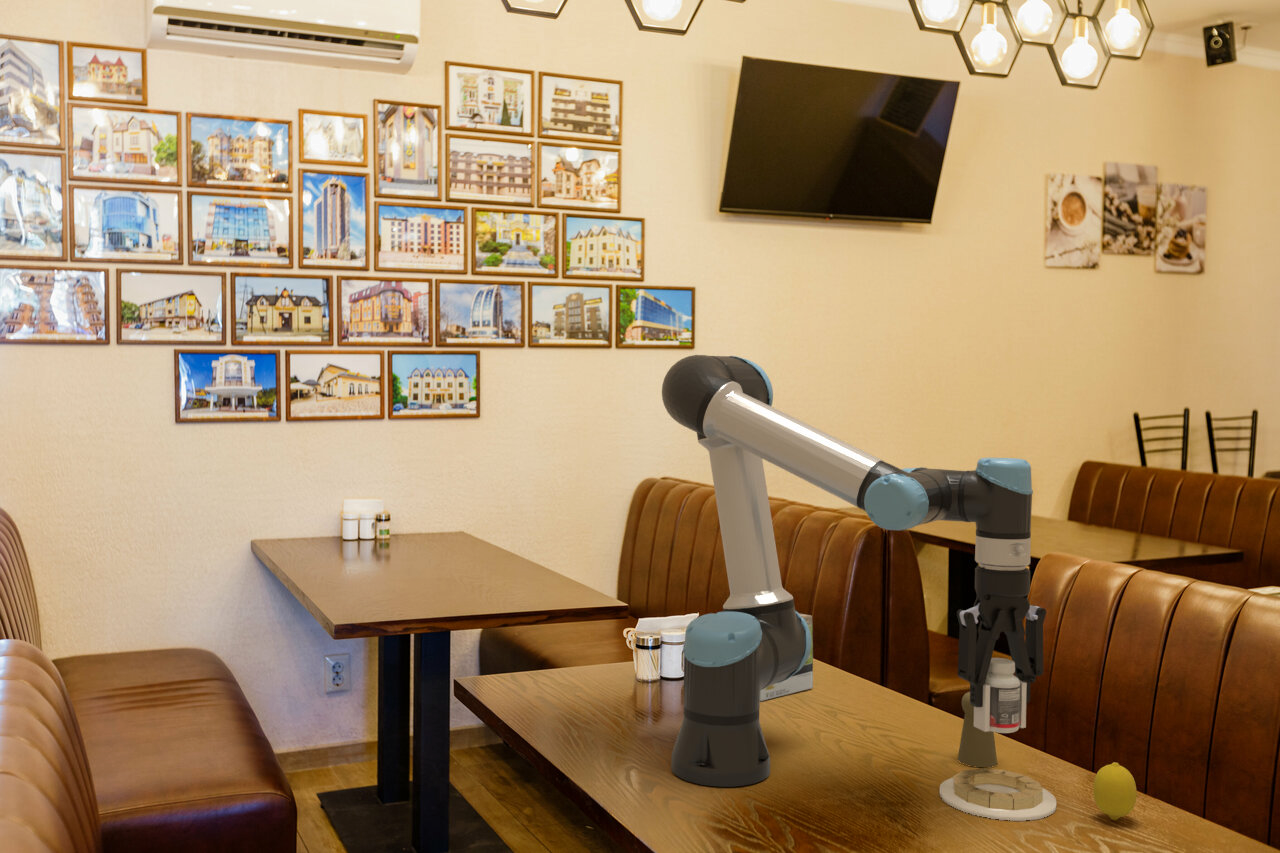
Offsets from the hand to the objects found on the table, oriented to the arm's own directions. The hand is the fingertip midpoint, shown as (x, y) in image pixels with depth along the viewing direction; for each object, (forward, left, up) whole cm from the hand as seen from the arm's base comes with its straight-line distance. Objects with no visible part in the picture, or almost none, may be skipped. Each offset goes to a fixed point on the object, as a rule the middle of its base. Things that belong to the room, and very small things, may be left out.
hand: (999, 726), depth 160 cm
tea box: (-8, +62, -11) cm, 64 cm away
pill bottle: (0, 0, 0) cm, 1 cm away
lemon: (+11, -11, -11) cm, 19 cm away
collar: (0, 0, -11) cm, 11 cm away
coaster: (0, 0, -11) cm, 11 cm away
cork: (+7, +15, -11) cm, 20 cm away
